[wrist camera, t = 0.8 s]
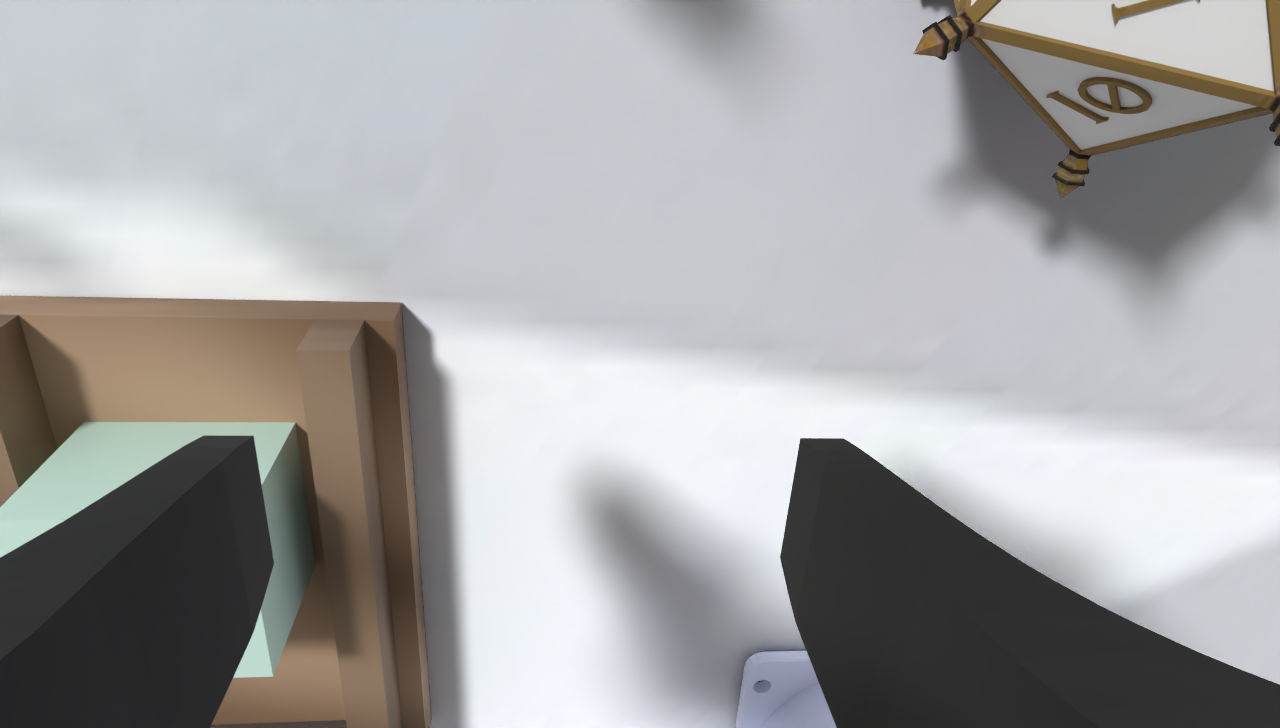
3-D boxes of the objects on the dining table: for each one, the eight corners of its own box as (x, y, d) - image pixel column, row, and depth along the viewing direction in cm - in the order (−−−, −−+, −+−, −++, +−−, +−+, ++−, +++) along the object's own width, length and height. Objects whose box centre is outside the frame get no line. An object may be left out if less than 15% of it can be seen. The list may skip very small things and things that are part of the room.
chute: (431, 718, 24) (413, 831, 21) (101, 730, 23) (32, 850, 20) (401, 302, 19) (371, 373, 16) (-37, 295, 18) (-163, 369, 15)
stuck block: (315, 564, 20) (273, 676, 17) (123, 568, 20) (43, 683, 17) (295, 422, 19) (244, 517, 16) (84, 421, 18) (-13, 520, 15)
